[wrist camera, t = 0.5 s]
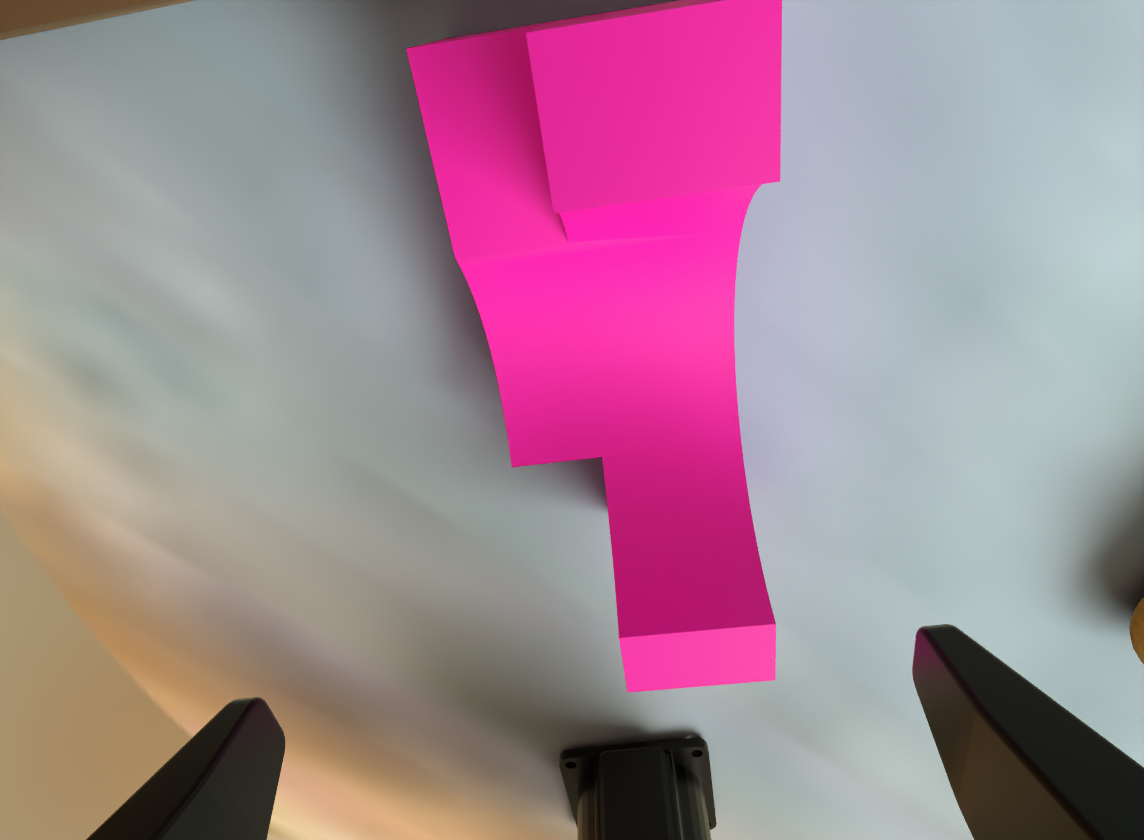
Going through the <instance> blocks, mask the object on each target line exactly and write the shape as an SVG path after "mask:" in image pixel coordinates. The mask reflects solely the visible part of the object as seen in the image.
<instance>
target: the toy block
mask: <svg viewBox="0 0 1144 840" xmlns="http://www.w3.org/2000/svg"><path fill="white" fill-rule="evenodd" d="M781 41H782V0H678V1H672V2H666V3H660V4H654V5H648V6H642V7H635V8H629V9H623V10H617V11H611V12H605V13H599V14H593V15H587V16H581V17H575V18H569V19H562V20H556V21H550V22H544V23H538V24H532V25H526V26H520V27H514V28H508V29H502V30H496V31H489V32H483V33H477V34H471V35H465V36H459V37H453V38H447V39H442V40H438V41H434V42H430V43H426V44H422V45H419V46H415V47H411V48H407V49H406V50H407V54H408V58H409V63H410V67H411V71H412V76H413V80H414V84H415V88H416V93H417V97H418V101H419V106H420V110H421V114H422V118H423V123H424V127H425V131H426V136H427V140H428V144H429V148H430V153H431V157H432V161H433V166H434V170H435V174H436V178H437V183H438V187H439V191H440V196H441V200H442V204H443V208H444V213H445V217H446V221H447V226H448V230H449V234H450V238H451V243H452V247H453V251H454V256H455V259H456V261H457V262H458V264H459V266H460V268H461V270H462V272H463V274H464V276H465V278H466V280H467V282H468V285H469V287H470V289H471V292H472V294H473V297H474V300H475V302H476V305H477V308H478V311H479V314H480V317H481V320H482V323H483V326H484V329H485V333H486V336H487V340H488V344H489V347H490V351H491V355H492V359H493V363H494V367H495V372H496V376H497V381H498V385H499V390H500V395H501V400H502V406H503V411H504V417H505V423H506V429H507V435H508V442H509V449H510V456H511V464H512V467H518V466H527V465H536V464H545V463H554V462H563V461H572V460H581V459H590V458H599V457H602V461H603V469H604V478H605V487H606V496H607V506H608V515H609V525H610V535H611V545H612V556H613V567H614V578H615V590H616V602H617V615H618V628H619V640H620V646H621V653H622V659H623V666H624V672H625V679H626V685H627V692H639V691H651V690H663V689H675V688H687V687H699V686H711V685H723V684H735V683H747V682H759V681H771V680H775V658H776V623H775V619H774V615H773V612H772V608H771V604H770V600H769V596H768V592H767V588H766V584H765V580H764V575H763V571H762V566H761V562H760V557H759V552H758V547H757V542H756V537H755V531H754V526H753V521H752V515H751V509H750V503H749V497H748V490H747V483H746V476H745V469H744V462H743V453H742V445H741V436H740V426H739V416H738V404H737V391H736V374H735V350H734V300H735V280H736V268H737V258H738V250H739V243H740V237H741V232H742V227H743V223H744V219H745V215H746V212H747V209H748V206H749V204H750V201H751V199H752V197H753V195H754V193H755V192H756V191H757V189H758V188H759V187H760V186H761V185H762V184H765V183H772V182H779V181H780V144H781Z"/></svg>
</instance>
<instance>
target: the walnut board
mask: <svg viewBox="0 0 1144 840" xmlns="http://www.w3.org/2000/svg"><path fill="white" fill-rule="evenodd" d="M188 1H193V0H0V40H3V39H8V38H13V37H17V36H22V35H27V34H32V33H37V32H42V31H47V30H52V29H56V28H61V27H66V26H71V25H76V24H81V23H86V22H91V21H96V20H100V19H105V18H110V17H115V16H120V15H125V14H130V13H135V12H140V11H144V10H149V9H154V8H159V7H164V6H169V5H174V4H179V3H183V2H188Z"/></svg>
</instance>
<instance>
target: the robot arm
mask: <svg viewBox="0 0 1144 840" xmlns="http://www.w3.org/2000/svg"><path fill="white" fill-rule="evenodd" d="M912 672H913V680H914V684H915V687H916V690H917V693H918V696H919V699H920V701H921V704H922V707H923V710H924V713H925V715H926V718H927V721H928V724H929V726H930V729H931V732H932V735H933V737H934V740H935V743H936V746H937V749H938V751H939V754H940V757H941V760H942V762H943V765H944V768H945V771H946V773H947V776H948V779H949V782H950V785H951V787H952V790H953V792H954V795H955V798H956V800H957V803H958V805H959V808H960V810H961V812H962V814H963V816H964V819H965V821H966V823H967V825H968V827H969V829H970V831H971V833H972V836H973V838H974V840H1144V767H1142V766H1141V765H1140V764H1138V763H1137V762H1136V761H1134V760H1133V759H1132V758H1130V757H1129V756H1128V755H1126V754H1125V753H1124V752H1122V751H1121V750H1120V749H1118V748H1117V747H1116V746H1114V745H1113V744H1112V743H1110V742H1109V741H1108V740H1106V739H1105V738H1104V737H1102V736H1101V735H1100V734H1098V733H1097V732H1096V731H1094V730H1093V729H1092V728H1090V727H1089V726H1088V725H1086V724H1085V723H1084V722H1082V721H1081V720H1080V719H1078V718H1077V717H1076V716H1074V715H1073V714H1072V713H1070V712H1069V711H1068V710H1066V709H1065V708H1064V707H1062V706H1061V705H1060V704H1058V703H1057V702H1056V701H1054V700H1053V699H1052V698H1050V697H1049V696H1048V695H1046V694H1045V693H1044V692H1042V691H1041V690H1040V689H1038V688H1037V687H1036V686H1034V685H1033V684H1032V683H1030V682H1029V681H1028V680H1026V679H1025V678H1024V677H1022V676H1021V675H1020V674H1018V673H1017V672H1016V671H1014V670H1013V669H1012V668H1010V667H1009V666H1008V665H1006V664H1005V663H1004V662H1002V661H1001V660H1000V659H998V658H997V657H996V656H994V655H993V654H992V653H990V652H989V651H988V650H986V649H985V648H984V647H982V646H981V645H980V644H978V643H977V642H976V641H974V640H973V639H972V638H970V637H969V636H968V635H966V634H965V633H964V632H962V631H961V630H960V629H958V628H957V627H955V626H953V625H949V624H942V625H933V626H923V627H921V628H919V629H918V631H917V634H916V641H915V650H914V659H913V668H912ZM284 752H285V736H284V732H283V730H282V728H281V727H280V725H279V723H278V721H277V720H276V718H275V716H274V715H273V713H272V711H271V709H270V708H269V706H268V704H267V703H266V701H265V700H263V699H262V698H259V697H254V698H245V699H237V700H234V701H231V702H230V703H228V704H227V705H226V706H225V707H224V708H223V709H222V710H221V711H220V712H219V713H218V714H217V715H216V716H214V717H213V718H212V719H211V720H210V721H209V722H208V723H207V724H206V725H205V726H204V727H203V728H202V729H201V730H200V731H199V732H198V733H197V734H196V735H195V736H194V737H193V738H192V739H191V740H190V741H189V742H188V743H186V744H185V745H184V746H183V747H182V748H181V749H180V750H179V751H178V752H177V753H176V754H175V755H174V756H173V757H172V758H171V759H170V760H169V761H168V762H167V763H165V764H164V765H163V766H162V767H161V768H160V769H159V770H158V771H157V772H156V773H155V774H154V775H153V776H152V777H151V778H150V779H149V780H148V781H147V782H146V783H145V784H144V785H143V786H142V787H140V788H139V789H138V790H137V791H136V792H135V793H134V794H133V795H132V796H131V797H130V798H129V799H128V800H127V801H126V802H125V803H124V804H123V805H122V806H121V807H120V808H119V809H118V810H116V811H115V812H114V814H112V815H111V816H110V817H109V818H108V819H107V820H106V821H105V822H104V823H103V824H102V825H101V826H100V827H99V828H98V829H97V830H96V831H95V832H94V833H93V834H91V835H90V836H89V837H88V838H87V839H86V840H266V839H267V834H268V830H269V825H270V820H271V815H272V810H273V805H274V801H275V796H276V791H277V786H278V781H279V776H280V772H281V767H282V762H283V757H284ZM560 769H561V773H562V776H563V780H564V783H565V786H566V790H567V793H568V797H569V800H570V804H571V807H572V811H573V814H574V818H575V821H576V825H577V828H578V840H711V834H710V830H711V829H713V828H714V827H715V826H716V817H715V808H714V798H713V789H712V780H711V770H710V761H709V752H708V746H707V743H706V741H705V740H703V739H700V738H691V739H680V740H669V741H659V742H648V743H637V744H626V745H615V746H605V747H594V748H583V749H572V750H566V751H564V752H562V753H561V754H560Z"/></svg>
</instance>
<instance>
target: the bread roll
mask: <svg viewBox="0 0 1144 840" xmlns="http://www.w3.org/2000/svg"><path fill="white" fill-rule="evenodd" d="M1129 629H1130V636H1131V641H1132V645H1133V649H1134V650H1135V652H1136V654H1137V655H1138V657H1139V658H1140V660H1141V662H1142V663H1143V664H1144V597H1143V598H1142V599H1141V600H1140V602H1139V603H1138V605H1137V607H1136V608H1135V610H1134V613H1133V615H1132V618H1131V622H1130V627H1129Z"/></svg>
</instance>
